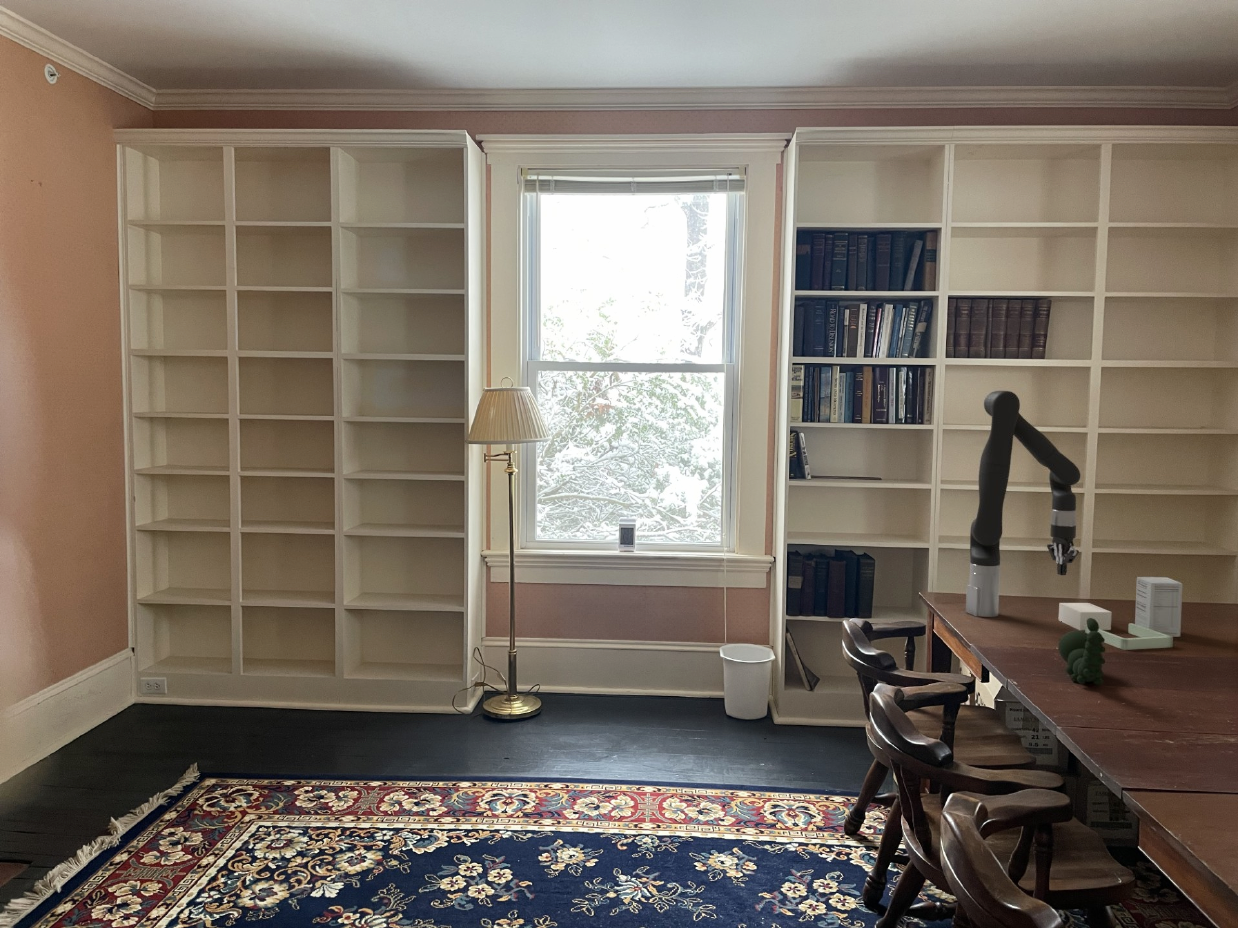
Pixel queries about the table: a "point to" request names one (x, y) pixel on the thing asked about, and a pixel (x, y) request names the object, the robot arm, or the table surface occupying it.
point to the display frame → (1145, 642)
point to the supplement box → (1159, 605)
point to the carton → (1084, 615)
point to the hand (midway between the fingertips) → (1061, 574)
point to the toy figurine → (1083, 654)
